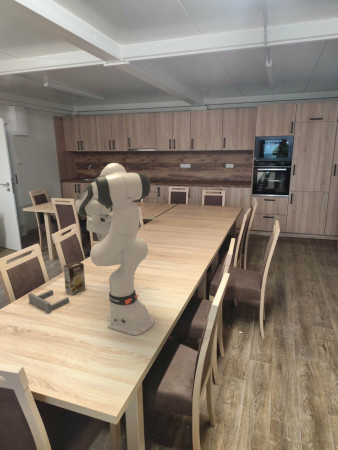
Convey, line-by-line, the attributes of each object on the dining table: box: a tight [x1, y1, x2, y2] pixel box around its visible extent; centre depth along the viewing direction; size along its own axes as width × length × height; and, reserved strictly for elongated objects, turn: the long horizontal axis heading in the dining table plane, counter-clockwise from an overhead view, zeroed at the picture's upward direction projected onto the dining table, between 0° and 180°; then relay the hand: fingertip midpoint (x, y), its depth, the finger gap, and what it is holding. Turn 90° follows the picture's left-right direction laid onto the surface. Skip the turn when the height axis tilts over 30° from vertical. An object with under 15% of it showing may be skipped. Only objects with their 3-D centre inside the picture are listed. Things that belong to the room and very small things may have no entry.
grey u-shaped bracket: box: [27, 289, 70, 314], centre depth 154 cm, size 18×12×5 cm
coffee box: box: [63, 261, 86, 296], centre depth 165 cm, size 9×6×16 cm
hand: (101, 241), depth 161 cm, fingers closed
